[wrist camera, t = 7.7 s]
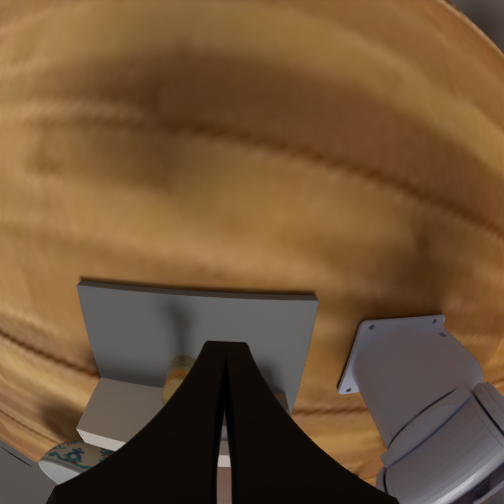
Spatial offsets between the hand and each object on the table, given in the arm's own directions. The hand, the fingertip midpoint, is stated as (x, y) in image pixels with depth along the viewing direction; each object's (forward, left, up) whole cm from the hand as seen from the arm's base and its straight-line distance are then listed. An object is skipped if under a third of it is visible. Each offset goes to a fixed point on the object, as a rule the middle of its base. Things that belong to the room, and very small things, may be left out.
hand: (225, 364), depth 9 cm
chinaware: (+16, +28, -10) cm, 34 cm away
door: (+3, +8, -9) cm, 13 cm away
